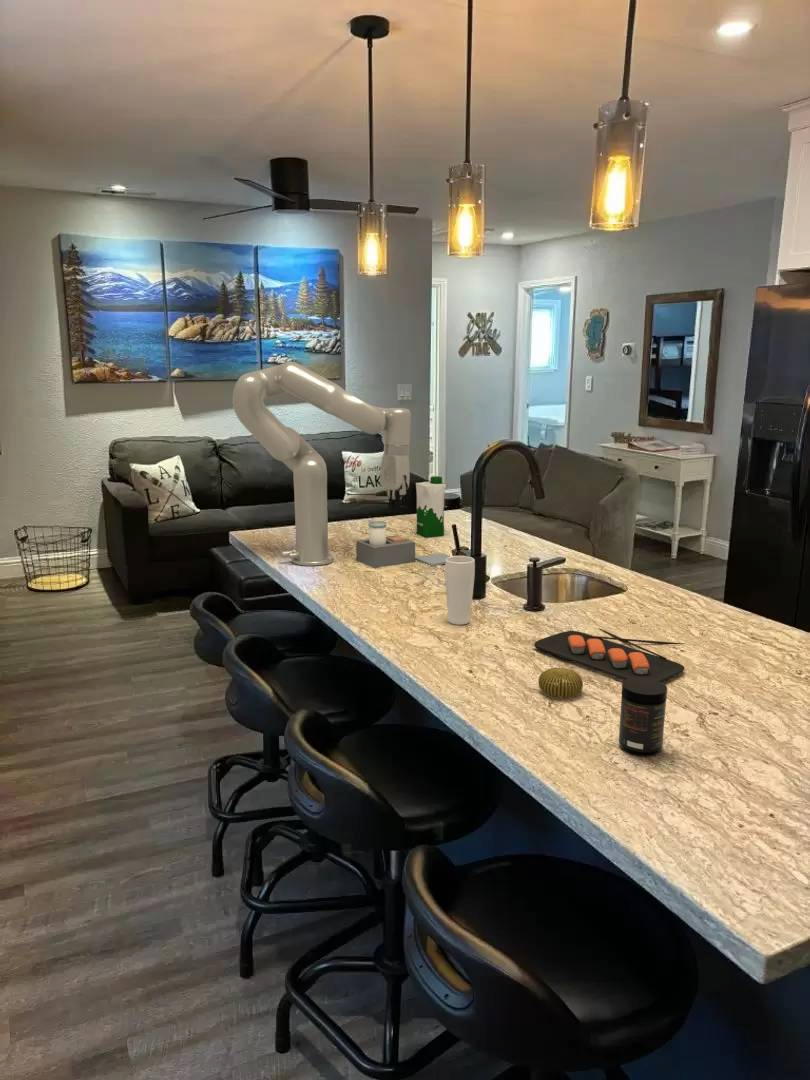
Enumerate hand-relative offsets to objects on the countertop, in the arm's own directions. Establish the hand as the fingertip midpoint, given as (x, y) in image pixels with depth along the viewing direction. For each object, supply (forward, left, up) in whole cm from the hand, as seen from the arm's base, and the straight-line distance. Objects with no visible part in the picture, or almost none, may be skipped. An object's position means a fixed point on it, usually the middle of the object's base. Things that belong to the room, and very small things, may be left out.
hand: (394, 511), depth 240 cm
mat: (+10, -8, -15) cm, 19 cm away
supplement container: (-28, -123, -15) cm, 127 cm away
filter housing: (-3, 0, -15) cm, 15 cm away
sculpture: (-24, -101, -15) cm, 105 cm away
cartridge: (-6, 0, -15) cm, 16 cm away
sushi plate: (+2, -92, -16) cm, 94 cm away
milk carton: (+28, +23, -15) cm, 39 cm away
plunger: (+1, 0, -13) cm, 13 cm away
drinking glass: (-17, -58, -15) cm, 63 cm away
